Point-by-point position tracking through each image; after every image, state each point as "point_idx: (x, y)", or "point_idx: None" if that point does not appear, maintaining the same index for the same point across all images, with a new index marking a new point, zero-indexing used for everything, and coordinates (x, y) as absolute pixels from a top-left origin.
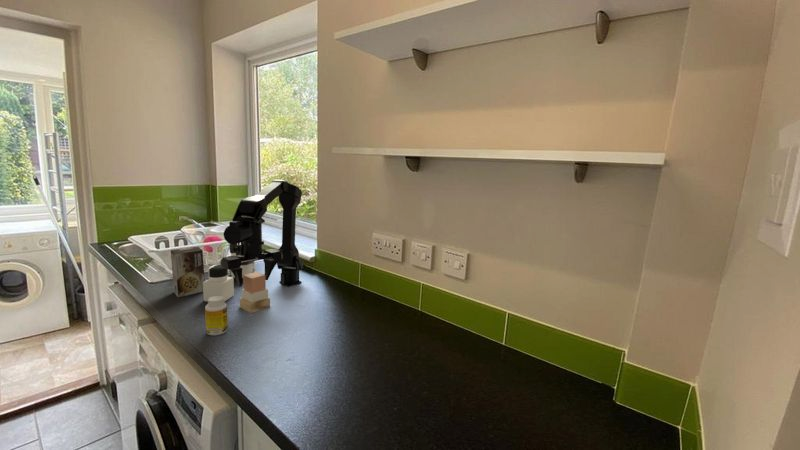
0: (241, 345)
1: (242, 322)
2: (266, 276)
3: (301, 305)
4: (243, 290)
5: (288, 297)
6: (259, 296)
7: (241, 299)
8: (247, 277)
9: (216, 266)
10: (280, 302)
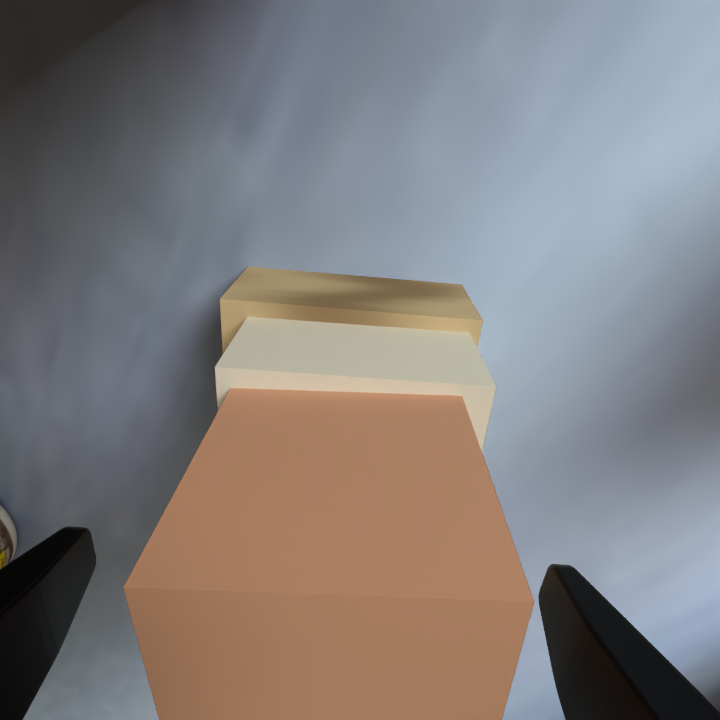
0: (43, 687)
1: (138, 522)
2: (562, 669)
3: (592, 581)
4: (219, 403)
5: (691, 409)
6: None
7: (224, 339)
8: (160, 697)
9: None
10: (553, 445)
